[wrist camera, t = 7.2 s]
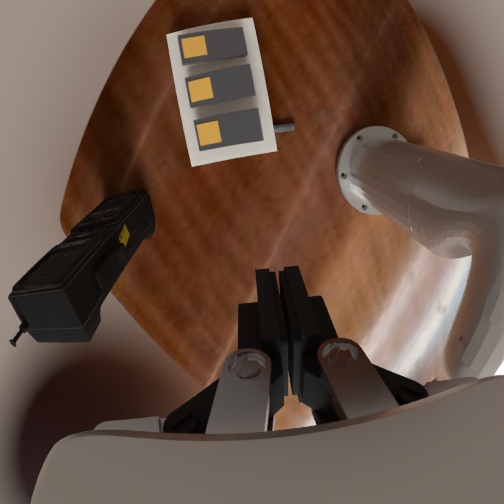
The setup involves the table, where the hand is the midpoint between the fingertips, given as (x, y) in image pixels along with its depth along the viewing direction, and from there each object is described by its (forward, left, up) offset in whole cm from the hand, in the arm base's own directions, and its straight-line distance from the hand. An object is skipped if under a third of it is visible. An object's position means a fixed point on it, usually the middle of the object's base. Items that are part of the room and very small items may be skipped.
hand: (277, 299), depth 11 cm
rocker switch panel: (0, -11, -27) cm, 29 cm away
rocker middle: (+1, -11, -23) cm, 26 cm away
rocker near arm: (+1, -6, -23) cm, 24 cm away
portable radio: (+16, +2, -27) cm, 32 cm away
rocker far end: (+2, -16, -23) cm, 28 cm away
